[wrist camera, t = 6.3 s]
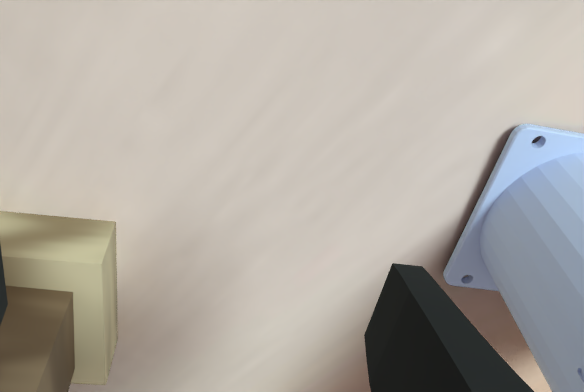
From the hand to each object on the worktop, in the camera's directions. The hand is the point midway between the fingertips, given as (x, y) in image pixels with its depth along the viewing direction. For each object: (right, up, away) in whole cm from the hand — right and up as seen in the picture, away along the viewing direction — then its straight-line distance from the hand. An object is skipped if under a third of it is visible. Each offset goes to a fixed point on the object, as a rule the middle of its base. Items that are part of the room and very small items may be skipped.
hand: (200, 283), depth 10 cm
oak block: (-9, -2, +14) cm, 17 cm away
